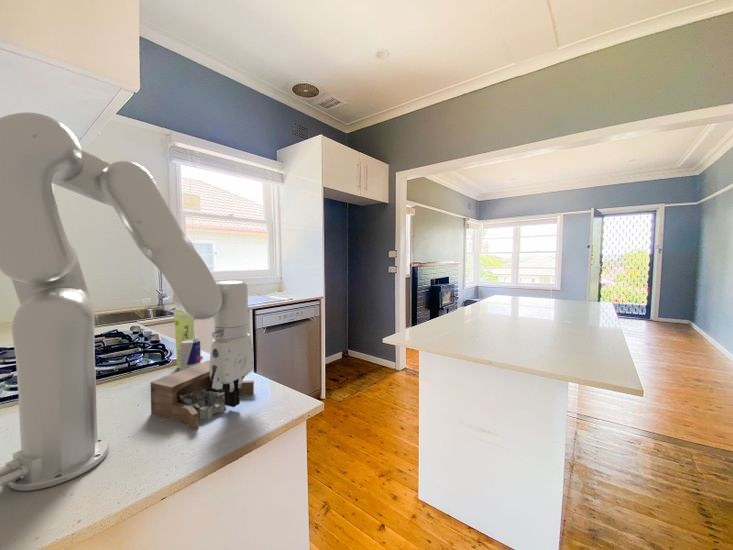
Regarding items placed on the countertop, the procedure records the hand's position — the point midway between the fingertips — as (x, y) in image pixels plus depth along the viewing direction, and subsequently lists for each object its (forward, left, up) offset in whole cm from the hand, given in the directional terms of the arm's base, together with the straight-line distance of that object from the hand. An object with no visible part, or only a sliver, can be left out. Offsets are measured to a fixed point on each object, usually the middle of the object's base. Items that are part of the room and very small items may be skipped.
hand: (232, 404), depth 74 cm
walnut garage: (0, +9, -1) cm, 9 cm away
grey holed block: (-2, +7, -2) cm, 8 cm away
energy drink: (+10, +26, -2) cm, 27 cm away
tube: (+17, +37, -2) cm, 40 cm away
